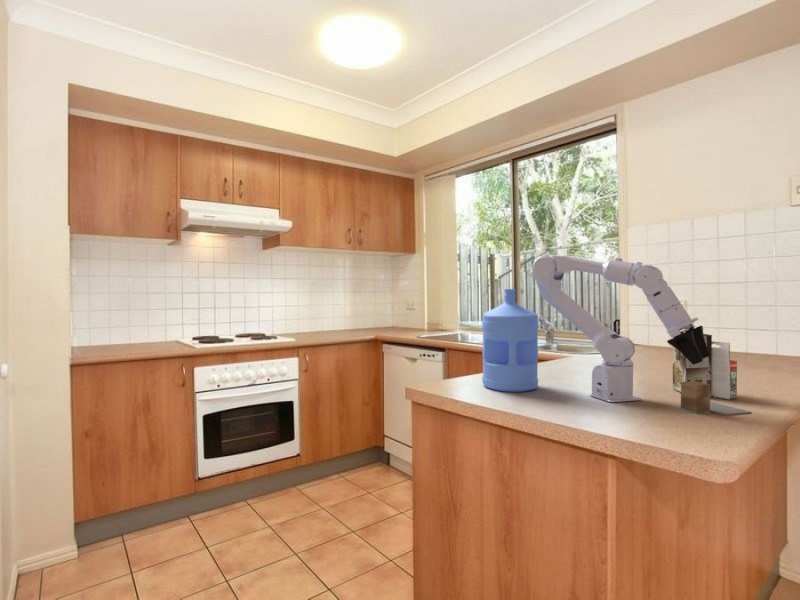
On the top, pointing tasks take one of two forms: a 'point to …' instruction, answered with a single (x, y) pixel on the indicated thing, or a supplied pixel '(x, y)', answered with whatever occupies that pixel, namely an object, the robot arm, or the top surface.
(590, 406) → the top surface
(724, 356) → the ink box
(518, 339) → the water jug
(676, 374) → the coffee box
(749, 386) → the top surface
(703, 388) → the walnut block
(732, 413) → the rubber mat
